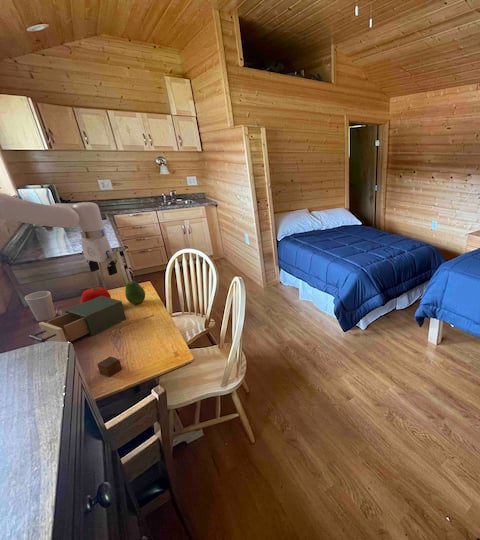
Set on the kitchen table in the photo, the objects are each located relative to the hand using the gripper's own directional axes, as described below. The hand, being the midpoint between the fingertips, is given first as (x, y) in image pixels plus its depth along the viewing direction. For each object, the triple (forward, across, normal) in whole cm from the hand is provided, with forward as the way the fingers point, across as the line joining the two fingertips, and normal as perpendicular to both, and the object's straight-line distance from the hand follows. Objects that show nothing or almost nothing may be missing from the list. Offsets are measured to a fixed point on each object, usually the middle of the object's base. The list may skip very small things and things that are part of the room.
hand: (104, 272), depth 127 cm
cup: (+25, -29, -9) cm, 39 cm away
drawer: (+24, -6, -16) cm, 29 cm away
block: (+24, +28, -25) cm, 45 cm away
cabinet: (+24, -5, -4) cm, 25 cm away
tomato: (+25, -18, +6) cm, 31 cm away
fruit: (+25, -7, +16) cm, 30 cm away
